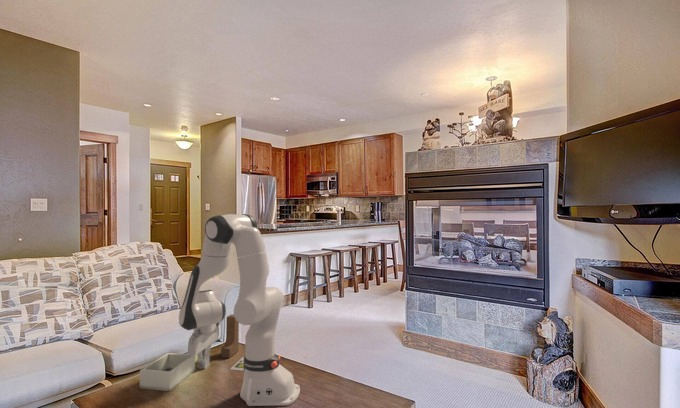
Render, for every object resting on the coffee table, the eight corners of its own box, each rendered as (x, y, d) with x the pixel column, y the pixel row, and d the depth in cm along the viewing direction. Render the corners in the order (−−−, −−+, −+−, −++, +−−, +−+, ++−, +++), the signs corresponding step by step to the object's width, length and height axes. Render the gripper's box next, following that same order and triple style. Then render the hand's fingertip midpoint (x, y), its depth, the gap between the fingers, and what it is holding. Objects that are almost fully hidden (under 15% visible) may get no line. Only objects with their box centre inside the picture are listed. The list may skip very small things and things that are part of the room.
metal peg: (209, 365, 157) (209, 345, 157) (205, 369, 154) (205, 348, 154) (202, 365, 158) (202, 344, 158) (197, 368, 154) (198, 347, 154)
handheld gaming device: (261, 356, 167) (248, 370, 152) (261, 357, 167) (248, 372, 152) (244, 355, 168) (229, 368, 153) (243, 356, 168) (229, 370, 153)
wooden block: (229, 358, 165) (229, 320, 165) (220, 357, 166) (221, 319, 166) (238, 351, 173) (239, 314, 174) (230, 350, 174) (231, 314, 175)
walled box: (194, 371, 151) (195, 354, 151) (169, 391, 135) (170, 372, 135) (167, 369, 153) (167, 352, 154) (139, 388, 137) (139, 370, 137)
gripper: (197, 334, 145) (197, 368, 145) (221, 320, 165) (221, 349, 165) (183, 334, 146) (183, 367, 146) (209, 319, 166) (209, 348, 166)
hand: (203, 357), depth 156 cm, fingers closed on metal peg, 3 cm apart
